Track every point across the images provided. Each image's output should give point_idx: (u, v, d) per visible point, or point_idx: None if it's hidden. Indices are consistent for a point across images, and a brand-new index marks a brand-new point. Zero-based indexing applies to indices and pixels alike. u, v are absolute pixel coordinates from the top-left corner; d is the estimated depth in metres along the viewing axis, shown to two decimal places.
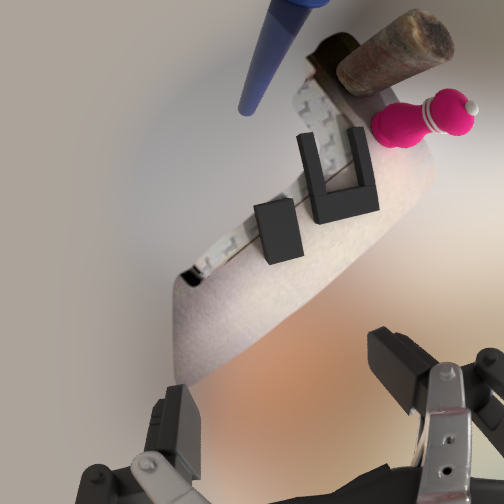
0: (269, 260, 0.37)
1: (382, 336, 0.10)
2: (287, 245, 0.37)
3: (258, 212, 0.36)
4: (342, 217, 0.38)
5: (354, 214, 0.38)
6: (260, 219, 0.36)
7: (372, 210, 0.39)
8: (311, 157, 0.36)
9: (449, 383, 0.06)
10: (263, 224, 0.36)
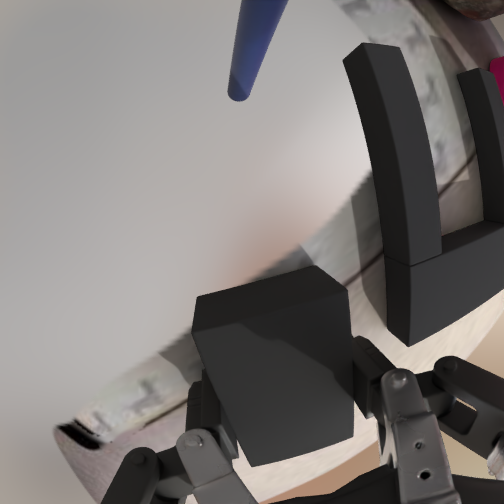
0: (251, 460, 0.10)
1: None
2: (310, 428, 0.10)
3: (202, 351, 0.08)
4: (460, 314, 0.11)
5: (482, 301, 0.11)
6: (212, 374, 0.08)
7: None
8: (405, 124, 0.08)
9: (399, 390, 0.07)
10: (227, 387, 0.08)
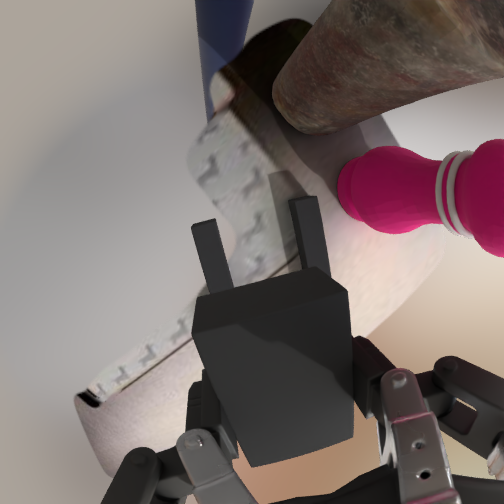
0: (251, 461, 0.10)
1: None
2: (310, 429, 0.10)
3: (202, 352, 0.08)
4: None
5: None
6: (212, 375, 0.08)
7: None
8: (212, 267, 0.22)
9: (399, 390, 0.07)
10: (227, 388, 0.08)
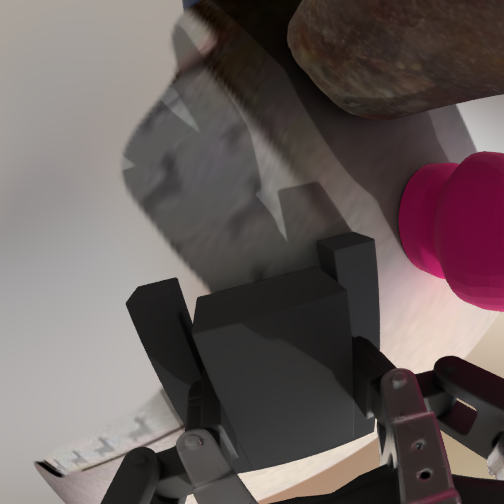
0: (251, 461, 0.10)
1: None
2: (310, 429, 0.10)
3: (202, 352, 0.08)
4: (275, 464, 0.13)
5: (307, 455, 0.13)
6: (213, 375, 0.08)
7: (356, 438, 0.14)
8: (173, 371, 0.11)
9: (399, 390, 0.07)
10: (227, 388, 0.09)
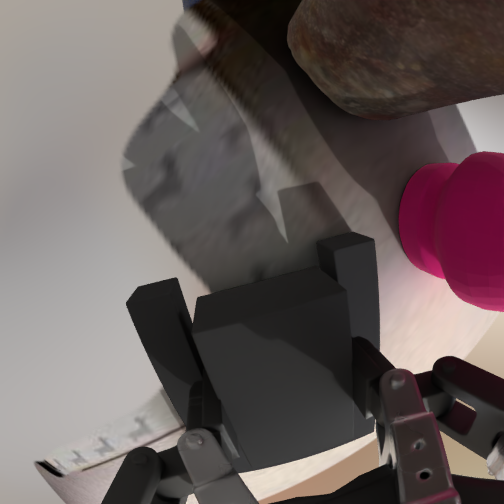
0: (251, 461, 0.10)
1: None
2: (310, 429, 0.10)
3: (202, 352, 0.08)
4: (275, 464, 0.13)
5: (307, 455, 0.13)
6: (213, 375, 0.08)
7: (356, 438, 0.14)
8: (173, 371, 0.11)
9: (398, 390, 0.07)
10: (227, 388, 0.09)
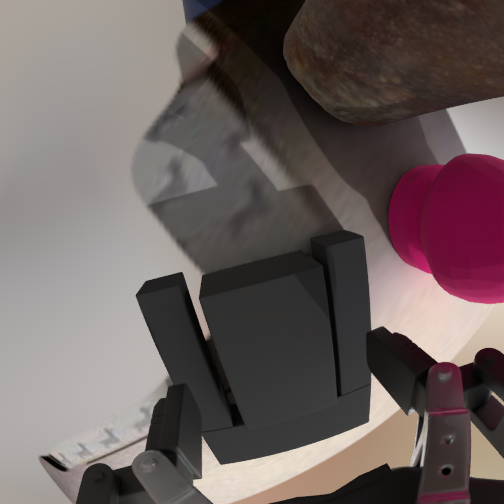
0: (246, 422, 0.12)
1: (381, 336, 0.10)
2: (298, 390, 0.12)
3: (207, 314, 0.11)
4: (274, 452, 0.14)
5: (304, 444, 0.14)
6: (215, 334, 0.11)
7: (351, 428, 0.15)
8: (179, 359, 0.12)
9: (447, 383, 0.06)
10: (226, 347, 0.11)
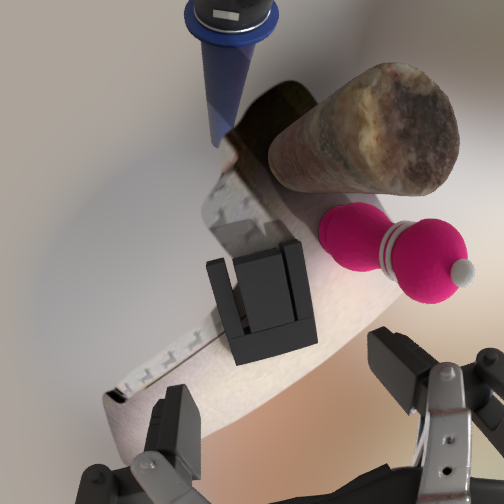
0: (251, 327, 0.30)
1: (382, 336, 0.10)
2: (274, 310, 0.30)
3: (236, 272, 0.28)
4: (265, 357, 0.32)
5: (282, 352, 0.32)
6: (239, 280, 0.28)
7: (308, 345, 0.32)
8: (222, 295, 0.30)
9: (449, 383, 0.06)
10: (243, 286, 0.29)
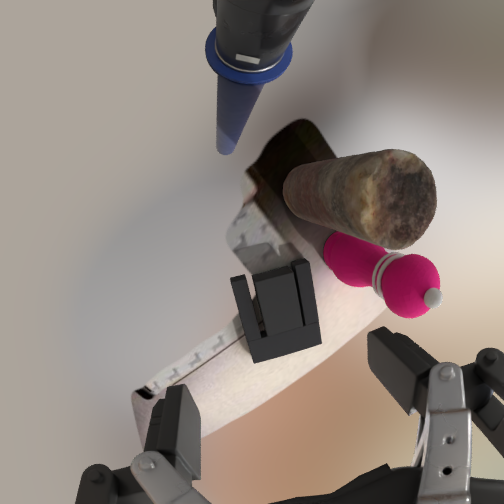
0: (267, 332, 0.36)
1: (382, 336, 0.10)
2: (286, 317, 0.36)
3: (257, 287, 0.34)
4: (278, 355, 0.38)
5: (291, 351, 0.38)
6: (259, 294, 0.34)
7: (313, 345, 0.38)
8: (243, 306, 0.36)
9: (449, 383, 0.06)
10: (262, 299, 0.35)
